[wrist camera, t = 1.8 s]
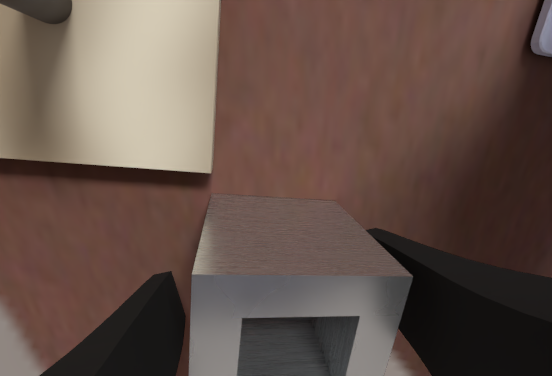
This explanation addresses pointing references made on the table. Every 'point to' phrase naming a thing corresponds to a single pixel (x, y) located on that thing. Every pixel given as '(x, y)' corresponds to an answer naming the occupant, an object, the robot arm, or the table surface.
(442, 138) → the table surface
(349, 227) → the grey hollow cube
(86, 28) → the cream tile with peg
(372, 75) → the table surface
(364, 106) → the table surface
